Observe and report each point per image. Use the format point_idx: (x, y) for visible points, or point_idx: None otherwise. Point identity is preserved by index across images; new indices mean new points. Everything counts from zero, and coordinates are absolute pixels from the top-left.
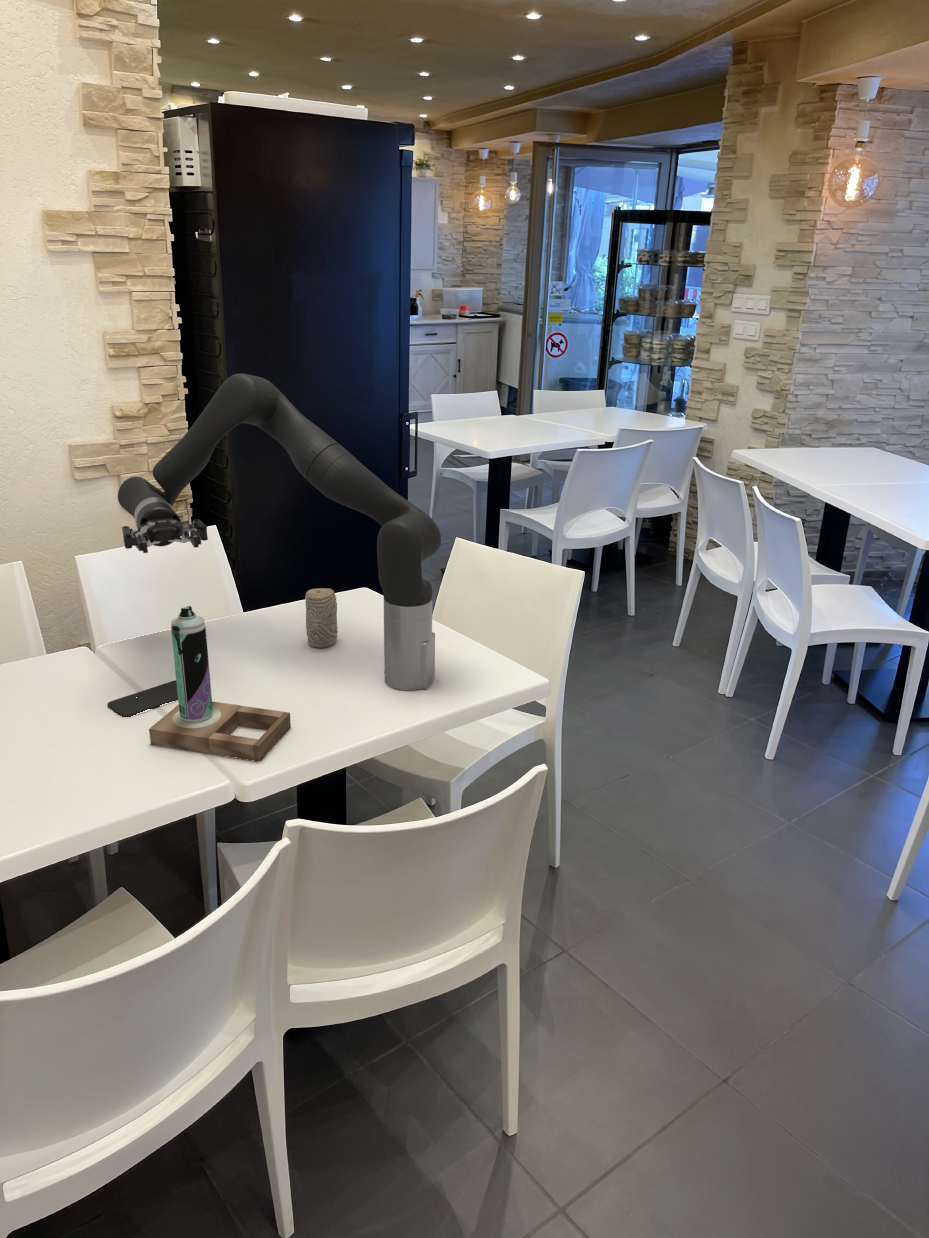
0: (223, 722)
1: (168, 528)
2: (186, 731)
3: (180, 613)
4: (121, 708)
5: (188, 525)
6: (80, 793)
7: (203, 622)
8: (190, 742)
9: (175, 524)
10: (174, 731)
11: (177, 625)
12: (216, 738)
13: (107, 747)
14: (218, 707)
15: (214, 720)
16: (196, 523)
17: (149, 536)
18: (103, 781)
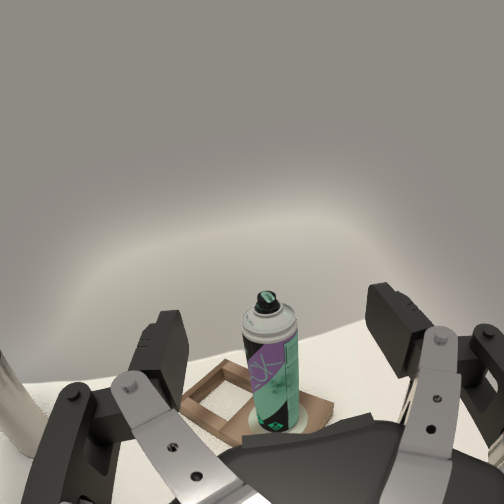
0: (249, 402)
1: (281, 448)
2: None
3: (277, 302)
4: None
5: (132, 429)
6: (378, 353)
7: (244, 313)
8: None
9: (216, 459)
10: (304, 395)
11: (285, 305)
12: None
13: (377, 413)
14: (248, 434)
15: None
16: (65, 470)
17: (402, 414)
18: (365, 365)
